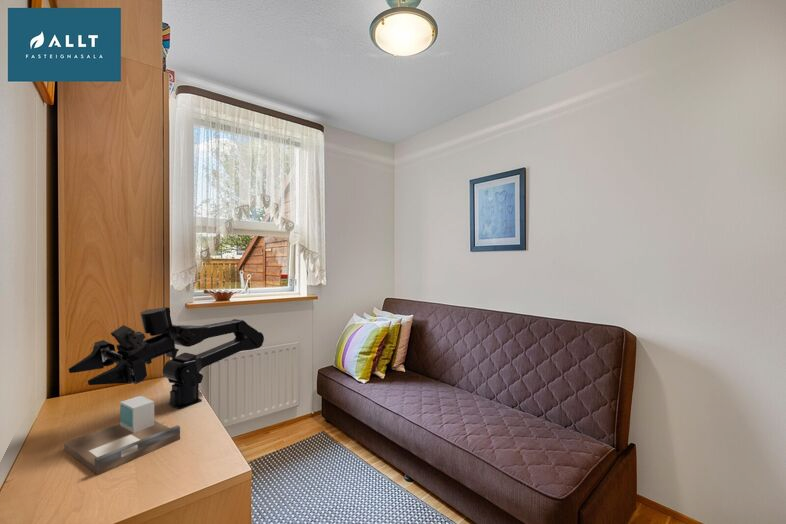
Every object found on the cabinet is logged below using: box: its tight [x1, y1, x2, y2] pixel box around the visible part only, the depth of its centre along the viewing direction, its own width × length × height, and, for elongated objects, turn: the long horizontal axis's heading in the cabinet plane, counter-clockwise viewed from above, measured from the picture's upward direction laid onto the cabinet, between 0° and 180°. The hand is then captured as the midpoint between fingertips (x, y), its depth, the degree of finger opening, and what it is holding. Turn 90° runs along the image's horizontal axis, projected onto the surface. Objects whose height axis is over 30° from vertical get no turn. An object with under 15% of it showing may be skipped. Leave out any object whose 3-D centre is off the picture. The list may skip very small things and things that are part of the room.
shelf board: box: [63, 419, 181, 476], centre depth 81 cm, size 16×18×3 cm
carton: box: [119, 395, 155, 433], centre depth 87 cm, size 5×7×6 cm
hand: (78, 376), depth 81 cm, fingers open, 9 cm apart
